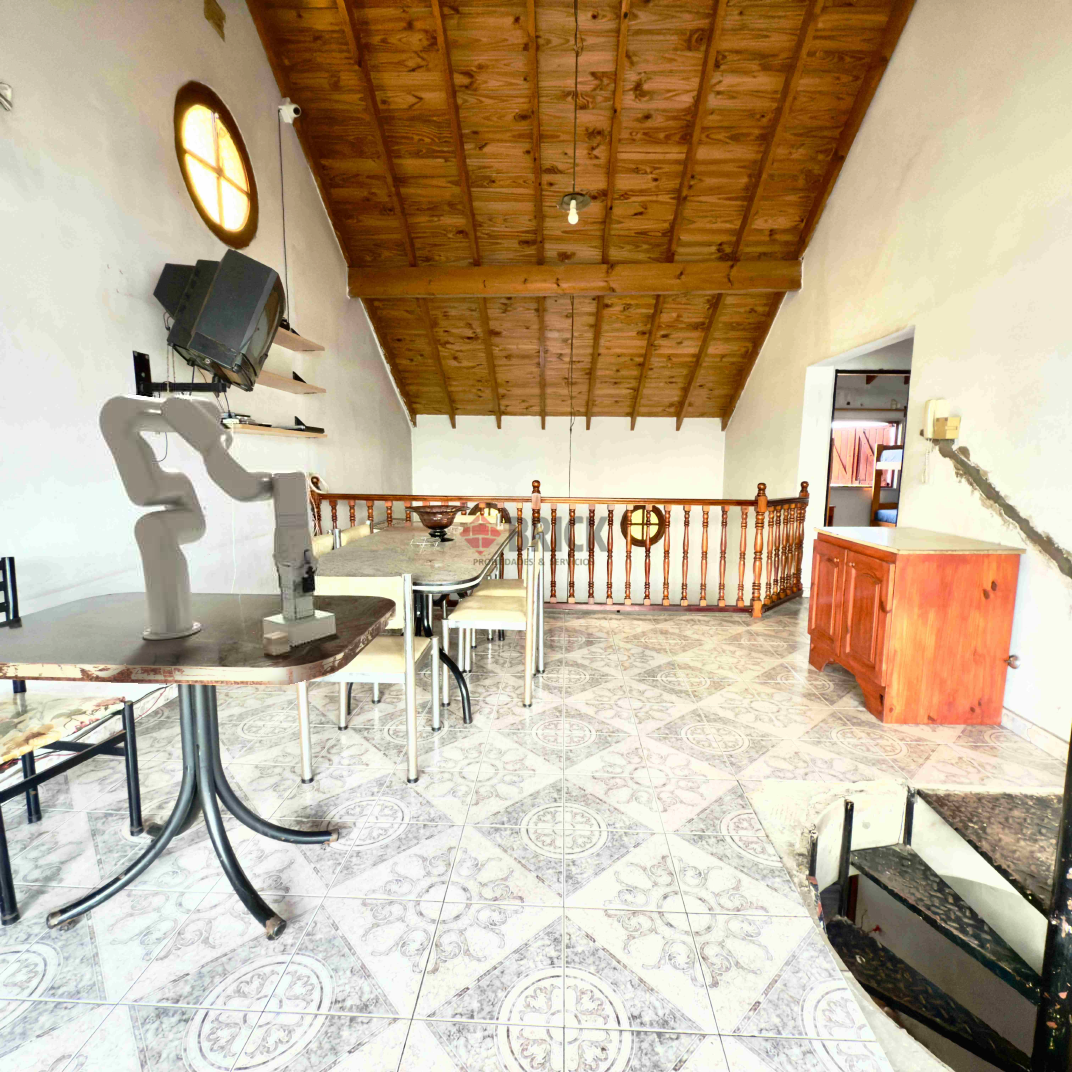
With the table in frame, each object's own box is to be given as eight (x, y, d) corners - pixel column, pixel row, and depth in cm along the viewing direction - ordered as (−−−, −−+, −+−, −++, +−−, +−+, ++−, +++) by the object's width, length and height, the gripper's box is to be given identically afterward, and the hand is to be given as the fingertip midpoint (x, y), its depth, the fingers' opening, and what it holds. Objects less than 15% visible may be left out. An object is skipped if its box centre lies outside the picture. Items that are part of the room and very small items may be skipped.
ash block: (264, 652, 130) (262, 635, 129) (280, 647, 133) (278, 631, 132) (274, 655, 128) (272, 638, 127) (290, 650, 131) (289, 634, 130)
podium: (264, 638, 140) (262, 618, 139) (307, 625, 150) (305, 607, 149) (292, 646, 134) (291, 625, 133) (335, 633, 143) (334, 613, 143)
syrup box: (302, 612, 145) (298, 556, 143) (316, 615, 141) (312, 558, 140) (281, 617, 140) (277, 560, 138) (295, 621, 137) (290, 562, 135)
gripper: (257, 521, 140) (263, 588, 142) (299, 524, 130) (304, 597, 132) (285, 518, 146) (290, 583, 148) (327, 521, 136) (331, 590, 139)
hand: (297, 589), depth 140 cm, fingers open, 9 cm apart
